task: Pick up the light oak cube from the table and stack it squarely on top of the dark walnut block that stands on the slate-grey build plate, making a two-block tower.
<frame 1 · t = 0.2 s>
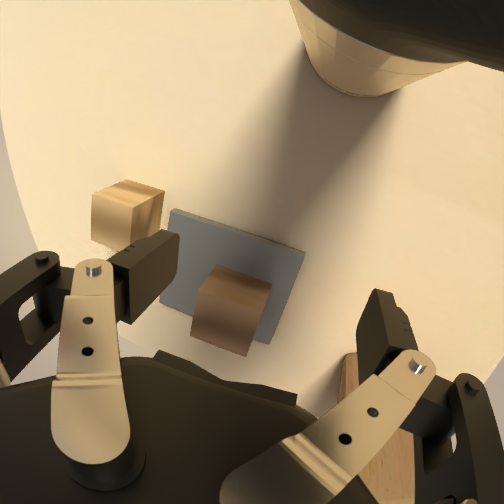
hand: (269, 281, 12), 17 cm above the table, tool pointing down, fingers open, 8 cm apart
build plate: (225, 278, 33), on the table
walnut block: (237, 297, 32), point 1 cm above the table, touching build plate
oak block: (142, 206, 32), on the table
block: (378, 376, 34), on the table
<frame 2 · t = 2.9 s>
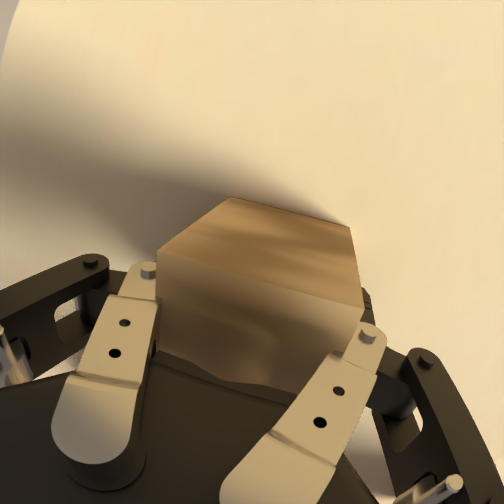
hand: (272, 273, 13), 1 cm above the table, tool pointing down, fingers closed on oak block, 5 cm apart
oak block: (276, 266, 13), on the table, touching gripper
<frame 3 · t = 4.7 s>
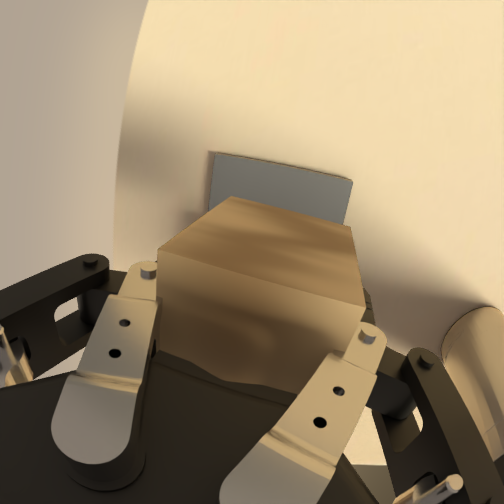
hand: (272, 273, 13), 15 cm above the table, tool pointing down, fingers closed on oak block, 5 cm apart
build plate: (270, 238, 29), on the table
oak block: (276, 265, 13), point 15 cm above the table, touching gripper
when the fingers open (8 cm above the table, at t = 6.9 s): oak block drops 1 cm, resting on walnut block.
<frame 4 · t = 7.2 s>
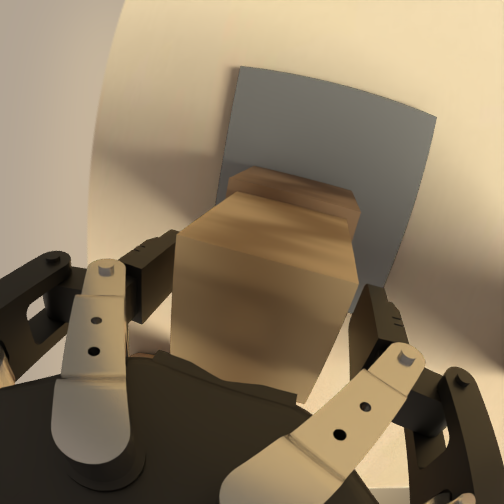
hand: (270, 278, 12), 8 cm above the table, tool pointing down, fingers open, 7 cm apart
build plate: (315, 194, 19), on the table
walnut block: (291, 224, 19), point 1 cm above the table, touching build plate, oak block
oak block: (279, 255, 14), point 6 cm above the table, touching walnut block
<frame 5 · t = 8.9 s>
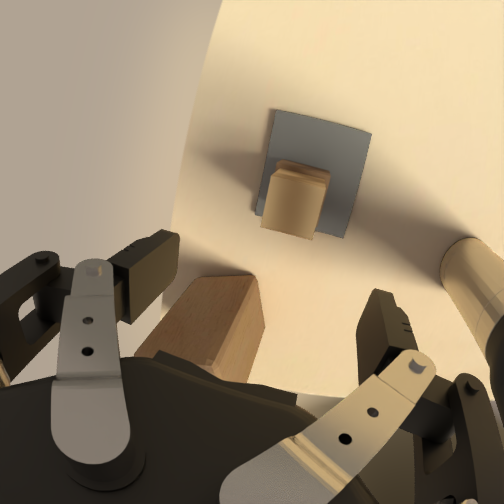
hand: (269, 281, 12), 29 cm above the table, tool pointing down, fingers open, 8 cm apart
build plate: (312, 173, 37), on the table
walnut block: (300, 187, 37), point 1 cm above the table, touching build plate, oak block
oak block: (297, 195, 33), point 6 cm above the table, touching walnut block
block: (231, 301, 48), on the table
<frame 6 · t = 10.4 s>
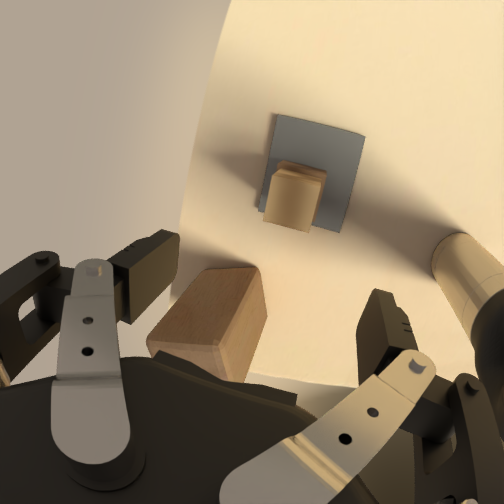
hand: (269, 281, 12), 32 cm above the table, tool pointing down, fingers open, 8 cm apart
build plate: (310, 173, 41), on the table
walnut block: (300, 186, 41), point 1 cm above the table, touching build plate, oak block
oak block: (296, 193, 36), point 6 cm above the table, touching walnut block
block: (236, 292, 51), on the table
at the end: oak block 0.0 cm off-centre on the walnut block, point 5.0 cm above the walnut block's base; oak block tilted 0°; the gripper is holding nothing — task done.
